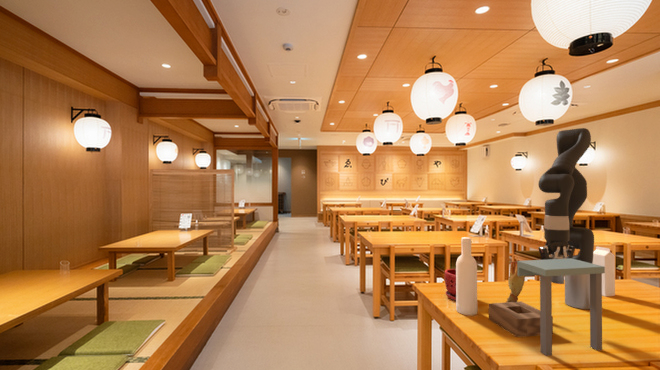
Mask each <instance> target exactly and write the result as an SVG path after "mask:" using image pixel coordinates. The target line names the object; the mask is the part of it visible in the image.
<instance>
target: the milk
mask: <svg viewBox="0 0 660 370" xmlns="http://www.w3.org/2000/svg"><path fill="white" fill-rule="evenodd" d="M615 257H616V255H615V254H614V253H612V252H611V249H610V248H609V247H604V246H595V250H594V251H593V263H592V264H596V265H600V266H604V267H605V273H602V297H613V296H616V264H615V263H616V258H615Z"/></svg>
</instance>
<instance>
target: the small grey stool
mask: <svg viewBox="0 0 660 370" xmlns="http://www.w3.org/2000/svg"><path fill="white" fill-rule="evenodd" d="M516 262H517V276H525V277H531V276H539V296H540V297H539V299H540V300H539V310H540V335H539V337H540V346H539V347H540V353H541V354H542V355H544V356H546V357H548V356H553V337H552V336H553V334H552V316H553V315H552V314H553V313H552V310H553V307H552V305H553V303H552V301H553V300H552V299H553V298H552V297H553V296H552V292H553V290H552V284H553V283H552V282H551V276H563V275H564V276H565V275H581V274H590V309H589V325H590V327H589V330H590V332H589V339H590V341H589V347H590V348H591V347H592V348H591V349H593V348H594V349H593V350H595V349H596V350H595V351H597V350H598V351H602V350H603V296H602V273H605V267H604V266H600V265H596V264H592V263H588V262H584V261H580V260H576V259H572V258H570V259H548V260H542V259H531V260H530V259H528V260H517V261H516Z"/></svg>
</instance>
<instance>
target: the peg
mask: <svg viewBox="0 0 660 370" xmlns="http://www.w3.org/2000/svg"><path fill="white" fill-rule="evenodd" d="M551 255H552V254H551ZM552 256H553V255H552ZM551 259H552V258H551ZM557 259H564V256H562V255H558V257H557ZM551 284H556V285H563V284H564V285H565V275H563V276H551Z"/></svg>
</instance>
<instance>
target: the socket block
mask: <svg viewBox="0 0 660 370" xmlns="http://www.w3.org/2000/svg"><path fill="white" fill-rule="evenodd" d="M553 318H554V317H553V315H552V335H553V334H554V333H553V332H554V331H553V330H554V325H553V324H554V323H553V320H554V319H553ZM488 320H489V321H491V322H492V323H494V324H496V325H497V326H498V327H501V328H502V329H503V330H505V331H506V332H508V333H509V334H510V335H512V336H515V337H516V338H521V337H533V336H540V309H538V308H536V307H534V306H531V305H530V304H527V303H525V302H523V301H522V300H521V301H519V300H518V301H517V302H506V301H505V302H493V303H492V302H491V303H488Z"/></svg>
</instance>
